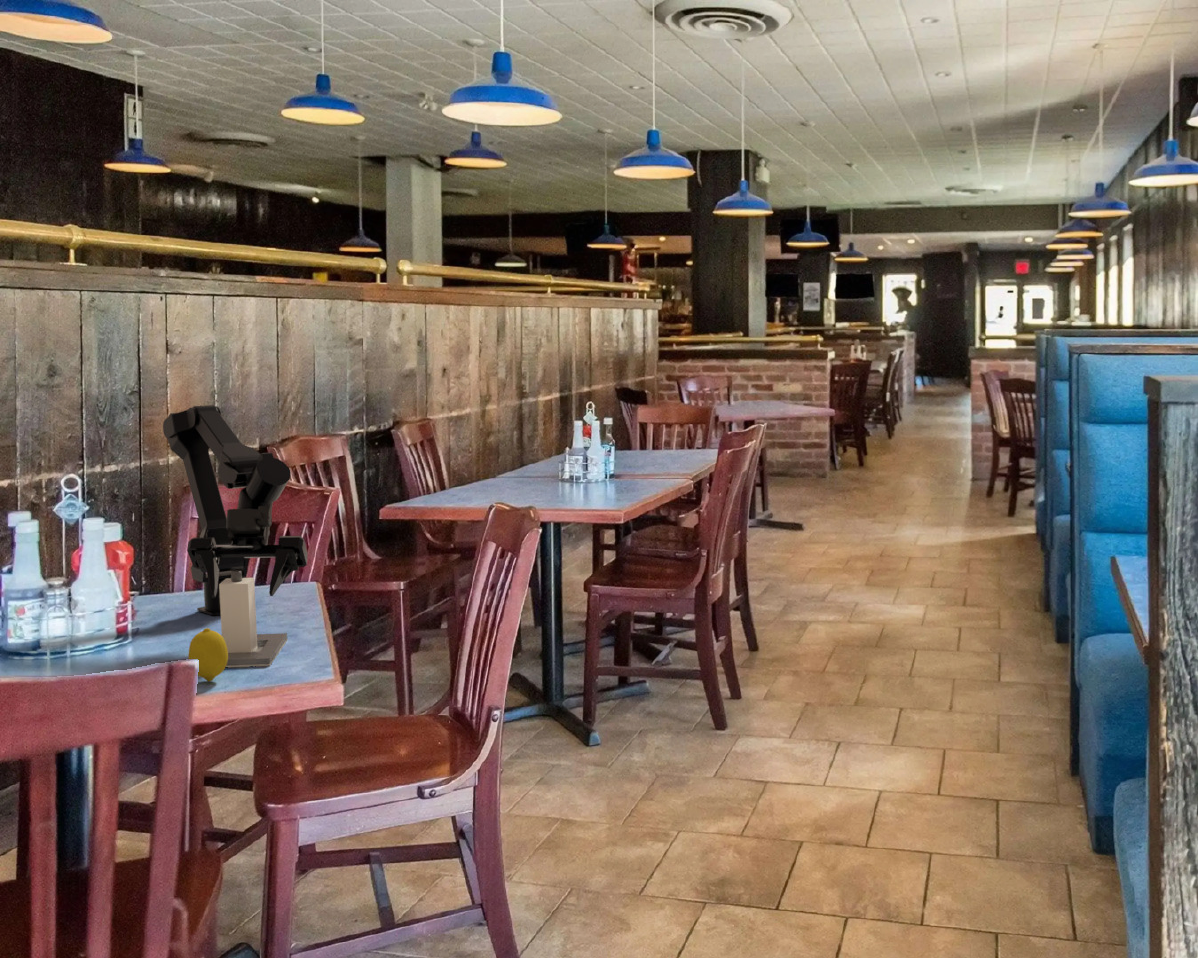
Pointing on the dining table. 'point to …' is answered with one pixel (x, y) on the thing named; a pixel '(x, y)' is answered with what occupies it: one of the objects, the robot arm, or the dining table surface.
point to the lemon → (209, 653)
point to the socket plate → (259, 651)
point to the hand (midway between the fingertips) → (242, 595)
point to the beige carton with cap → (238, 613)
